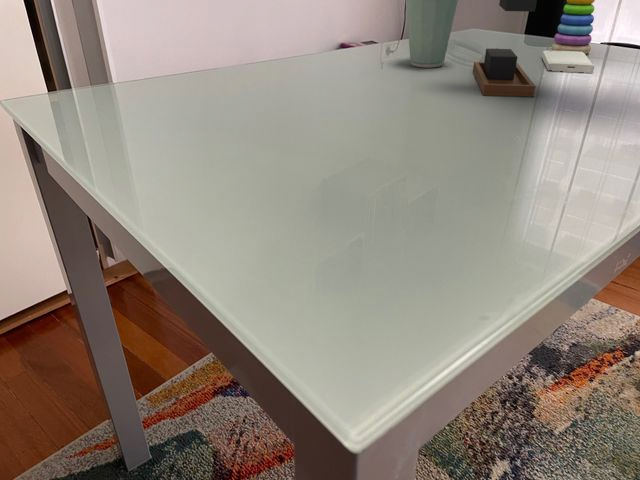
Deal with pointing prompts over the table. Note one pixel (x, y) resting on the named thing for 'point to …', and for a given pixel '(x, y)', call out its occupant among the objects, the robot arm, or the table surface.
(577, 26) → the stacking toy
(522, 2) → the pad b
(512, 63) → the black rectangular block
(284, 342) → the table surface
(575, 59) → the hard drive
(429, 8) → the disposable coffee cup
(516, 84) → the tray
